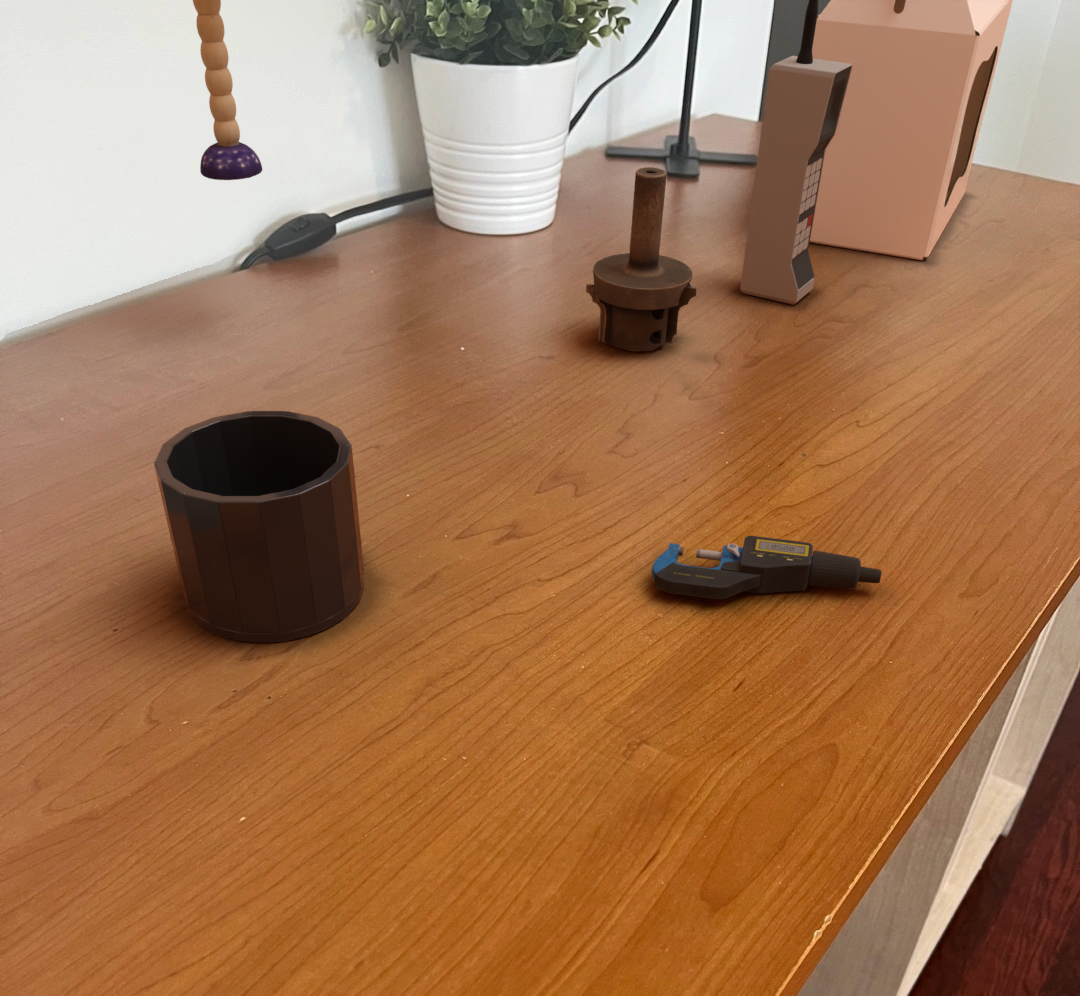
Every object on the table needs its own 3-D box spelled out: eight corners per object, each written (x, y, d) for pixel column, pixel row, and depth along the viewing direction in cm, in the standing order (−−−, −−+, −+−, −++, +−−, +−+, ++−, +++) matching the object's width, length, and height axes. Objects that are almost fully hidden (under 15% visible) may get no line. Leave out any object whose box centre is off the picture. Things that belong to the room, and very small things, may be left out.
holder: (150, 618, 58) (115, 479, 52) (246, 530, 64) (223, 398, 59) (310, 660, 55) (289, 518, 50) (393, 564, 62) (382, 429, 57)
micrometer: (649, 569, 59) (663, 521, 62) (646, 599, 60) (661, 550, 64) (883, 600, 57) (884, 548, 60) (875, 630, 58) (877, 578, 62)
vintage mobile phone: (795, 306, 91) (858, -69, 75) (739, 293, 93) (788, -76, 77) (812, 292, 94) (877, -75, 77) (757, 279, 96) (808, -81, 79)
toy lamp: (184, 169, 79) (135, -127, 68) (240, 157, 82) (201, -130, 71) (223, 185, 77) (178, -119, 66) (279, 172, 79) (246, -123, 68)
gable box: (925, 262, 99) (1020, -135, 81) (779, 239, 103) (838, -145, 85) (964, 194, 115) (1051, -153, 96) (836, 176, 119) (896, -161, 100)
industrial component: (573, 351, 84) (580, 178, 76) (600, 316, 89) (609, 151, 81) (697, 371, 82) (718, 195, 74) (718, 333, 87) (739, 165, 79)
